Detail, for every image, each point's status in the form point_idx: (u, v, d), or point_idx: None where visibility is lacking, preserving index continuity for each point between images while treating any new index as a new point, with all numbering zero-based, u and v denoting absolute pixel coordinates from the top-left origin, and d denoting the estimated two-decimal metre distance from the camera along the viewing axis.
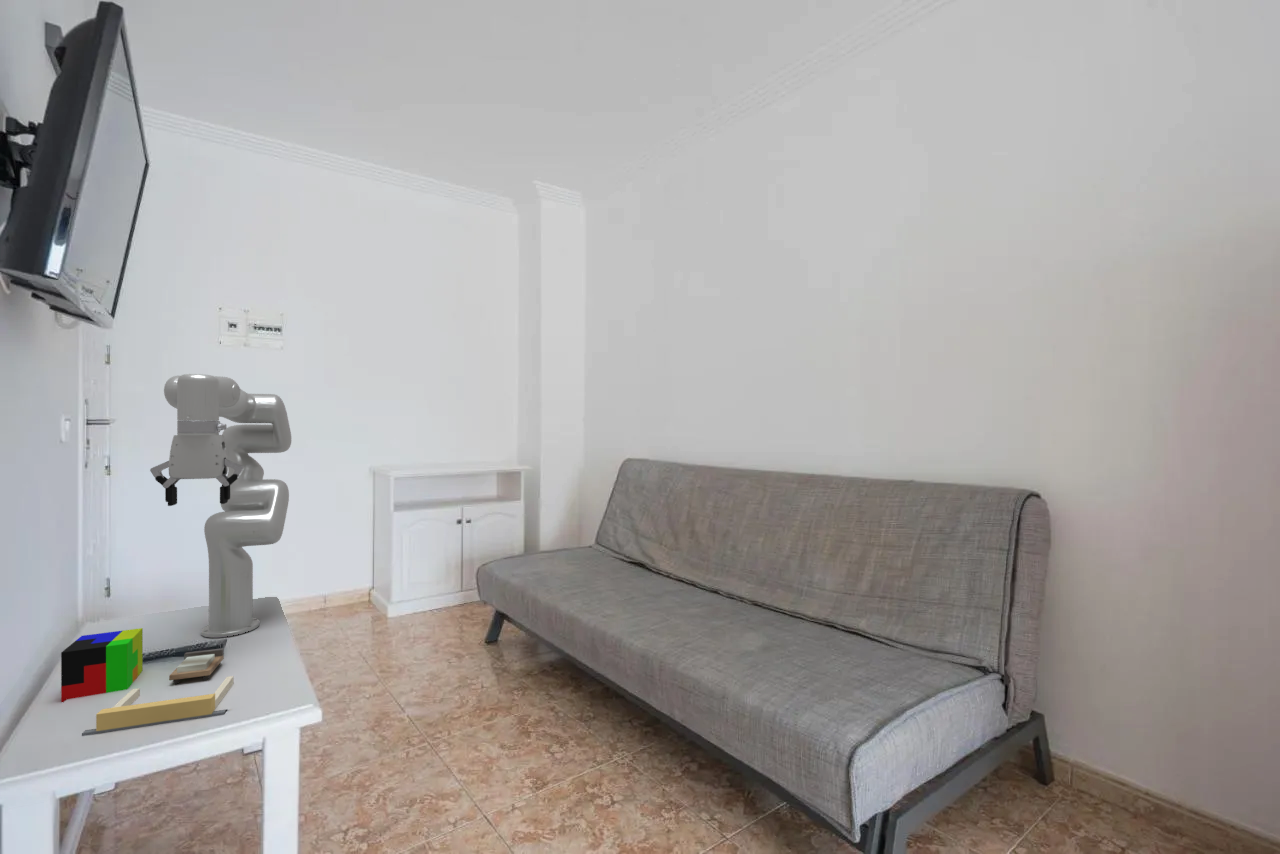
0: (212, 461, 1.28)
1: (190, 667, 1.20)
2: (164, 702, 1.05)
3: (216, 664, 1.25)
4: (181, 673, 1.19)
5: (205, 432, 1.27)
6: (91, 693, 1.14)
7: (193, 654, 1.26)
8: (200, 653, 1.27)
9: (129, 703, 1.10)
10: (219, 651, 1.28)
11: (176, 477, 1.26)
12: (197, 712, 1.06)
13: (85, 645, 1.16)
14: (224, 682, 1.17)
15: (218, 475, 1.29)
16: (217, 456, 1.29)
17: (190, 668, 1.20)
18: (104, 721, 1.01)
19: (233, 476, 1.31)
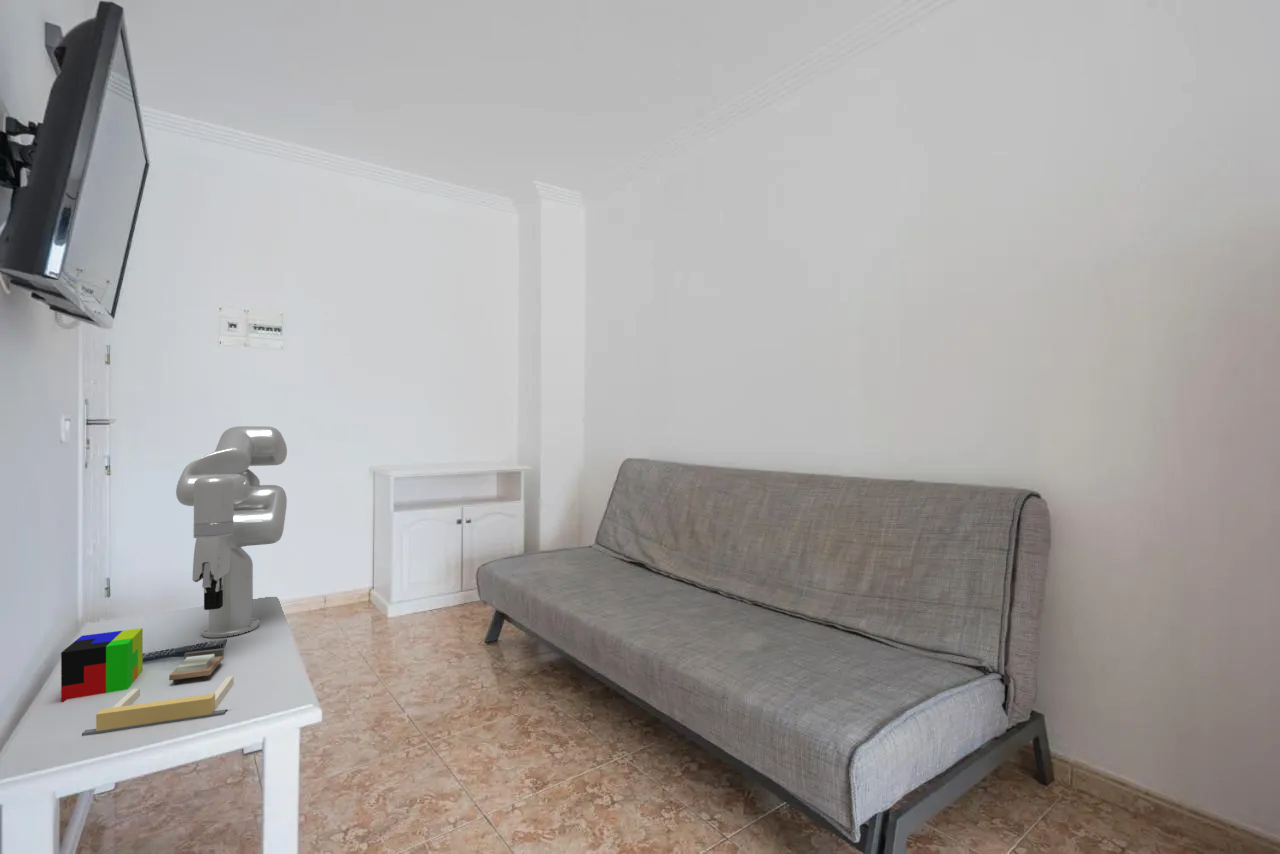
0: (229, 557, 1.37)
1: (190, 667, 1.20)
2: (164, 702, 1.05)
3: (216, 664, 1.25)
4: (181, 673, 1.19)
5: None
6: (91, 693, 1.14)
7: (193, 654, 1.26)
8: (200, 653, 1.27)
9: (129, 703, 1.10)
10: (219, 651, 1.28)
11: (218, 578, 1.30)
12: (197, 712, 1.06)
13: (85, 645, 1.15)
14: (224, 682, 1.17)
15: None
16: None
17: (190, 668, 1.20)
18: (104, 721, 1.01)
19: None
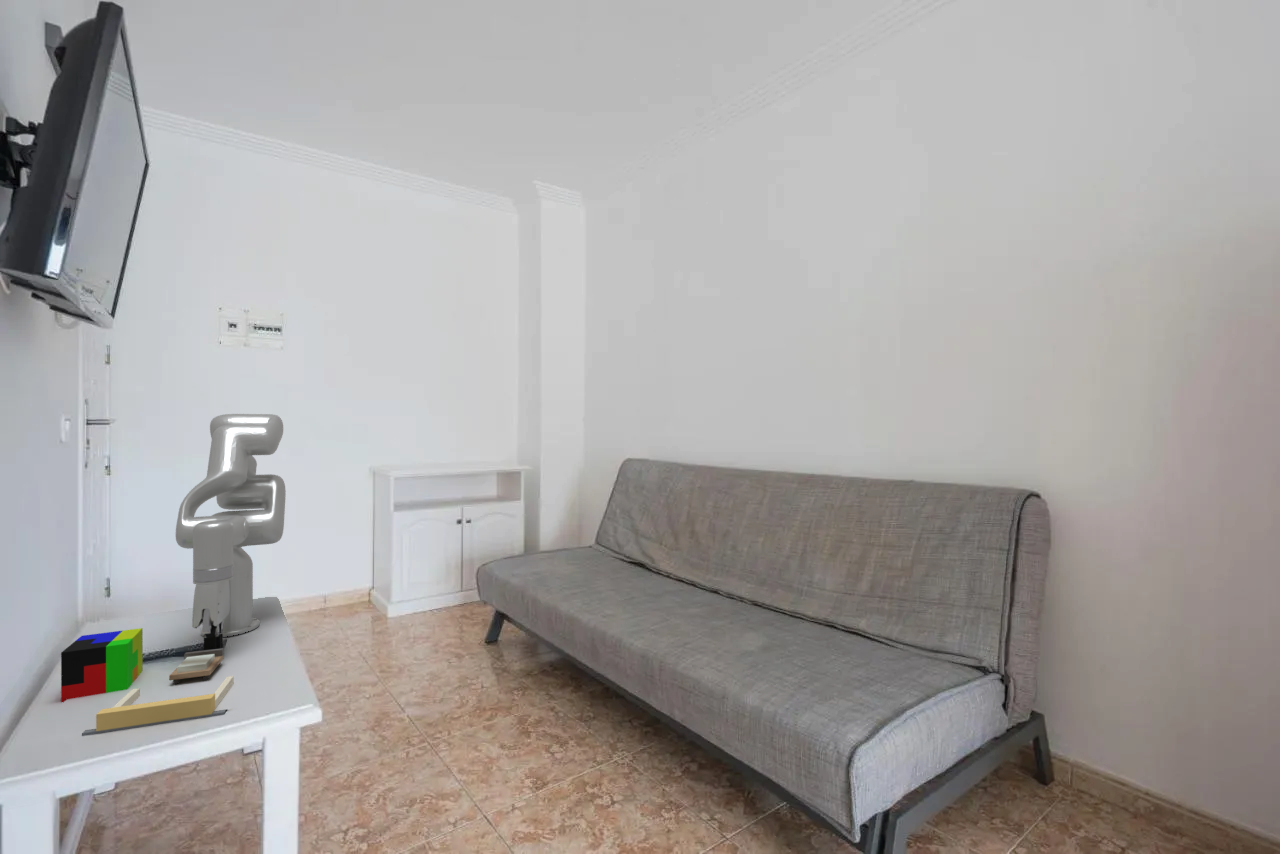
0: (229, 600, 1.37)
1: (190, 667, 1.20)
2: (164, 702, 1.05)
3: (216, 664, 1.25)
4: (181, 673, 1.19)
5: None
6: (91, 693, 1.14)
7: (193, 654, 1.26)
8: (200, 653, 1.27)
9: (129, 703, 1.10)
10: (219, 651, 1.28)
11: (218, 623, 1.30)
12: (197, 712, 1.06)
13: (85, 645, 1.15)
14: (224, 682, 1.17)
15: None
16: (229, 594, 1.38)
17: (190, 668, 1.20)
18: (104, 721, 1.01)
19: (221, 622, 1.36)
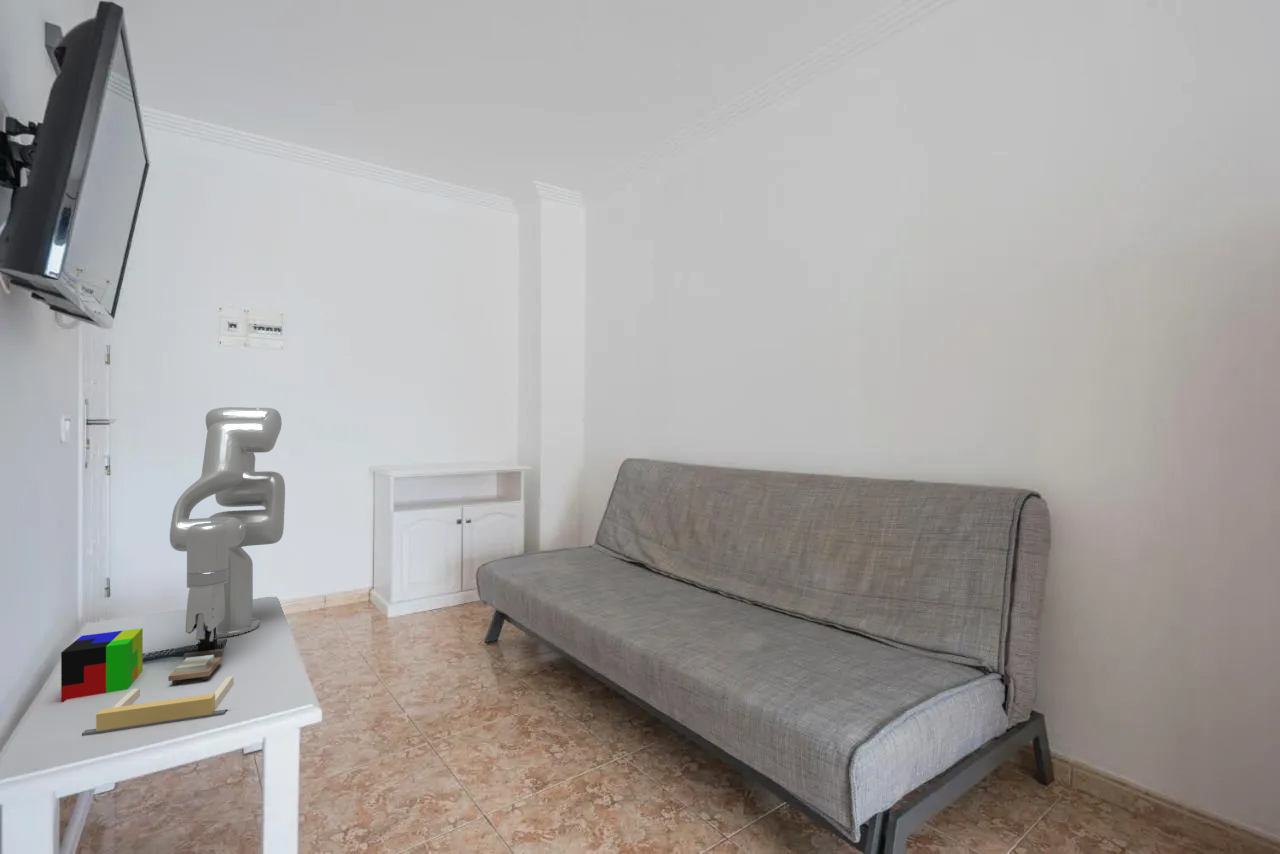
0: (224, 604, 1.33)
1: (189, 668, 1.20)
2: (164, 702, 1.05)
3: (215, 665, 1.24)
4: (180, 674, 1.19)
5: None
6: (91, 693, 1.14)
7: (192, 655, 1.26)
8: (199, 654, 1.26)
9: (129, 703, 1.10)
10: (218, 652, 1.28)
11: (212, 629, 1.27)
12: (197, 712, 1.06)
13: (85, 645, 1.16)
14: (224, 682, 1.17)
15: None
16: (224, 599, 1.34)
17: (189, 669, 1.20)
18: (104, 721, 1.01)
19: (216, 627, 1.32)
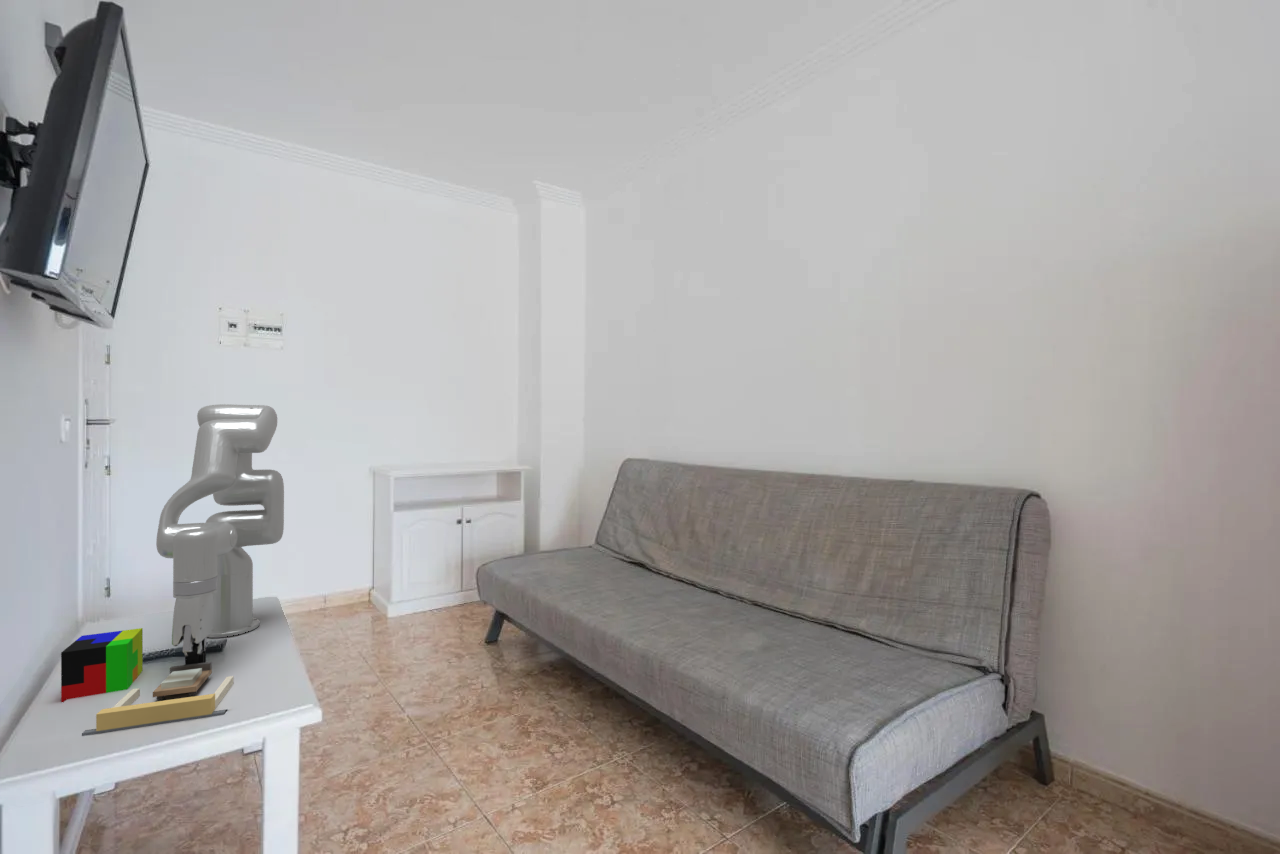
0: (213, 614, 1.26)
1: (175, 683, 1.13)
2: (164, 702, 1.05)
3: (203, 679, 1.17)
4: (165, 689, 1.12)
5: None
6: (91, 693, 1.14)
7: (179, 668, 1.19)
8: (186, 667, 1.19)
9: (129, 703, 1.10)
10: (207, 665, 1.21)
11: (200, 641, 1.20)
12: (197, 712, 1.06)
13: (85, 645, 1.15)
14: (224, 682, 1.17)
15: None
16: (213, 608, 1.27)
17: (175, 684, 1.13)
18: (104, 721, 1.01)
19: None
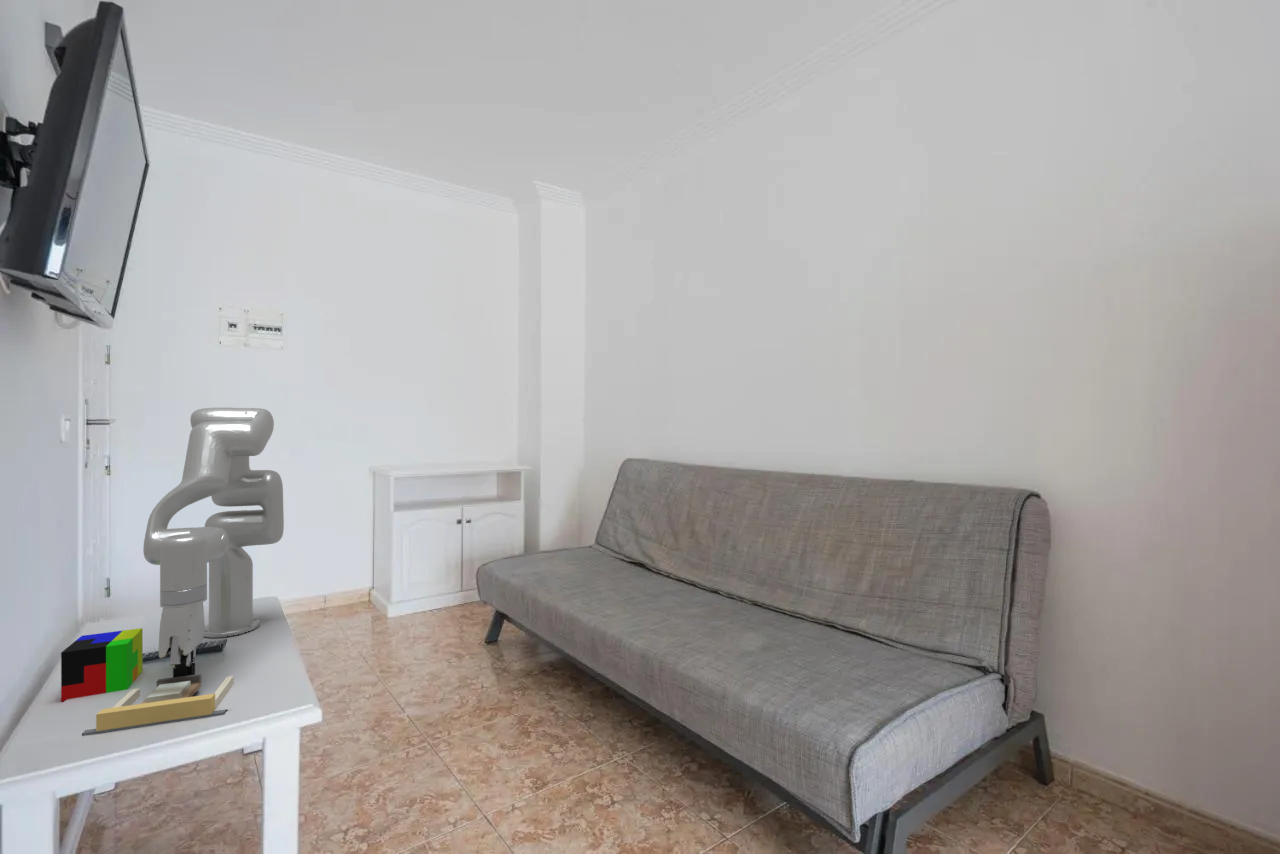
0: (203, 624, 1.20)
1: (162, 697, 1.07)
2: (164, 702, 1.05)
3: (192, 693, 1.11)
4: None
5: None
6: (91, 693, 1.14)
7: (166, 681, 1.13)
8: (174, 680, 1.14)
9: (129, 703, 1.10)
10: (196, 677, 1.15)
11: (189, 652, 1.14)
12: (197, 712, 1.06)
13: (85, 645, 1.15)
14: (224, 682, 1.17)
15: None
16: (203, 617, 1.21)
17: (162, 698, 1.07)
18: (104, 721, 1.01)
19: (194, 649, 1.19)
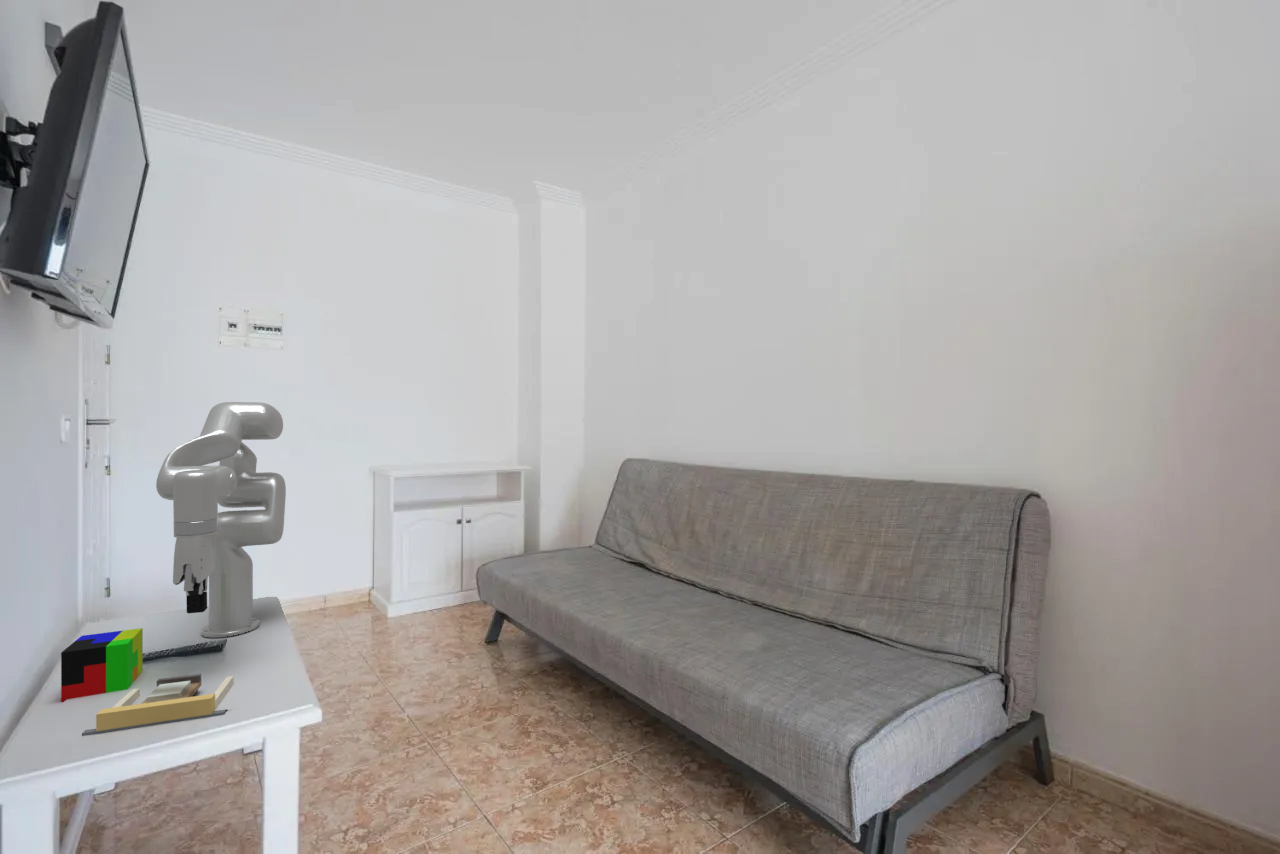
0: (214, 556, 1.27)
1: (162, 697, 1.07)
2: (164, 702, 1.05)
3: (192, 692, 1.12)
4: None
5: None
6: (91, 693, 1.14)
7: (167, 681, 1.13)
8: (175, 680, 1.14)
9: (129, 703, 1.10)
10: (196, 677, 1.15)
11: (201, 580, 1.21)
12: (197, 712, 1.06)
13: (85, 645, 1.15)
14: (224, 682, 1.17)
15: None
16: (214, 550, 1.28)
17: (162, 698, 1.07)
18: (104, 721, 1.01)
19: None
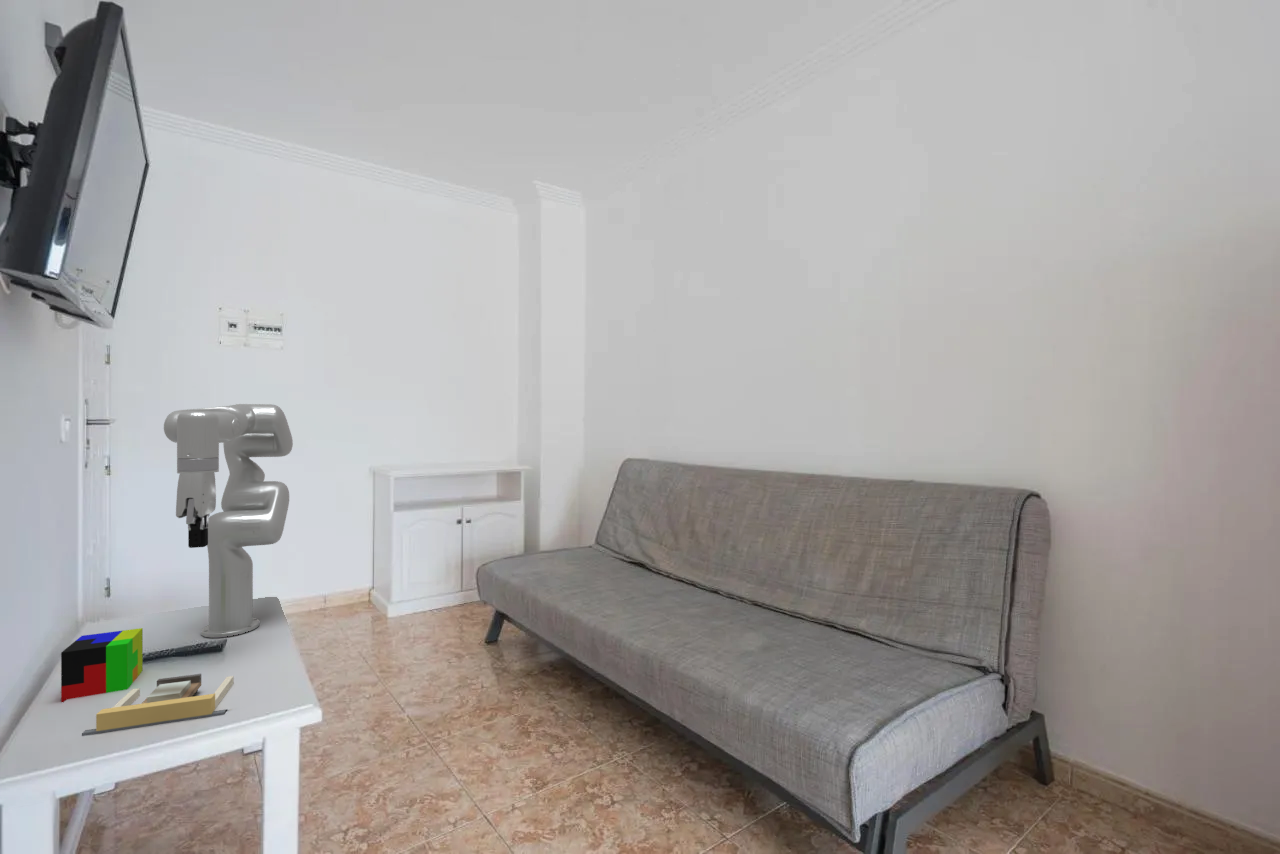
0: (215, 496, 1.33)
1: (162, 697, 1.07)
2: (164, 702, 1.05)
3: (192, 692, 1.12)
4: None
5: None
6: (91, 693, 1.14)
7: (167, 681, 1.13)
8: (175, 680, 1.14)
9: (129, 703, 1.10)
10: (196, 677, 1.15)
11: (203, 515, 1.27)
12: (197, 712, 1.06)
13: (85, 645, 1.15)
14: (224, 682, 1.17)
15: None
16: (215, 491, 1.34)
17: (162, 698, 1.07)
18: (104, 721, 1.01)
19: None
